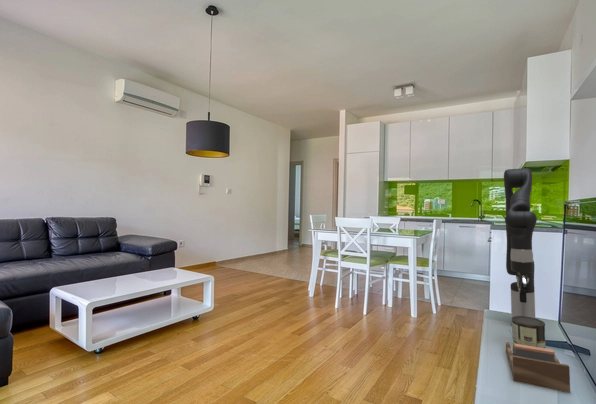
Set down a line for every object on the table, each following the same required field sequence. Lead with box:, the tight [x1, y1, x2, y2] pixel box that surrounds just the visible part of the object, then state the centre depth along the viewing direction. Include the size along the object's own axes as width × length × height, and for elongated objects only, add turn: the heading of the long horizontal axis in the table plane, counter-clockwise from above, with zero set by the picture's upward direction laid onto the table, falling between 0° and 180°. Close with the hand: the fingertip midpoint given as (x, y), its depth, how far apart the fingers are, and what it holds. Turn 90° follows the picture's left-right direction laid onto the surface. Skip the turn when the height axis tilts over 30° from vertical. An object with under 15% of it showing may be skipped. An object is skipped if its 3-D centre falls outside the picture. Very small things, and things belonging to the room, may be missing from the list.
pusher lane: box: [505, 341, 571, 393], centre depth 109 cm, size 23×14×8 cm, turn 152°
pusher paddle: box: [514, 343, 556, 363], centre depth 108 cm, size 2×11×8 cm, turn 62°
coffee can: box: [510, 316, 546, 356], centre depth 117 cm, size 10×10×14 cm
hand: (523, 302), depth 126 cm, fingers closed
